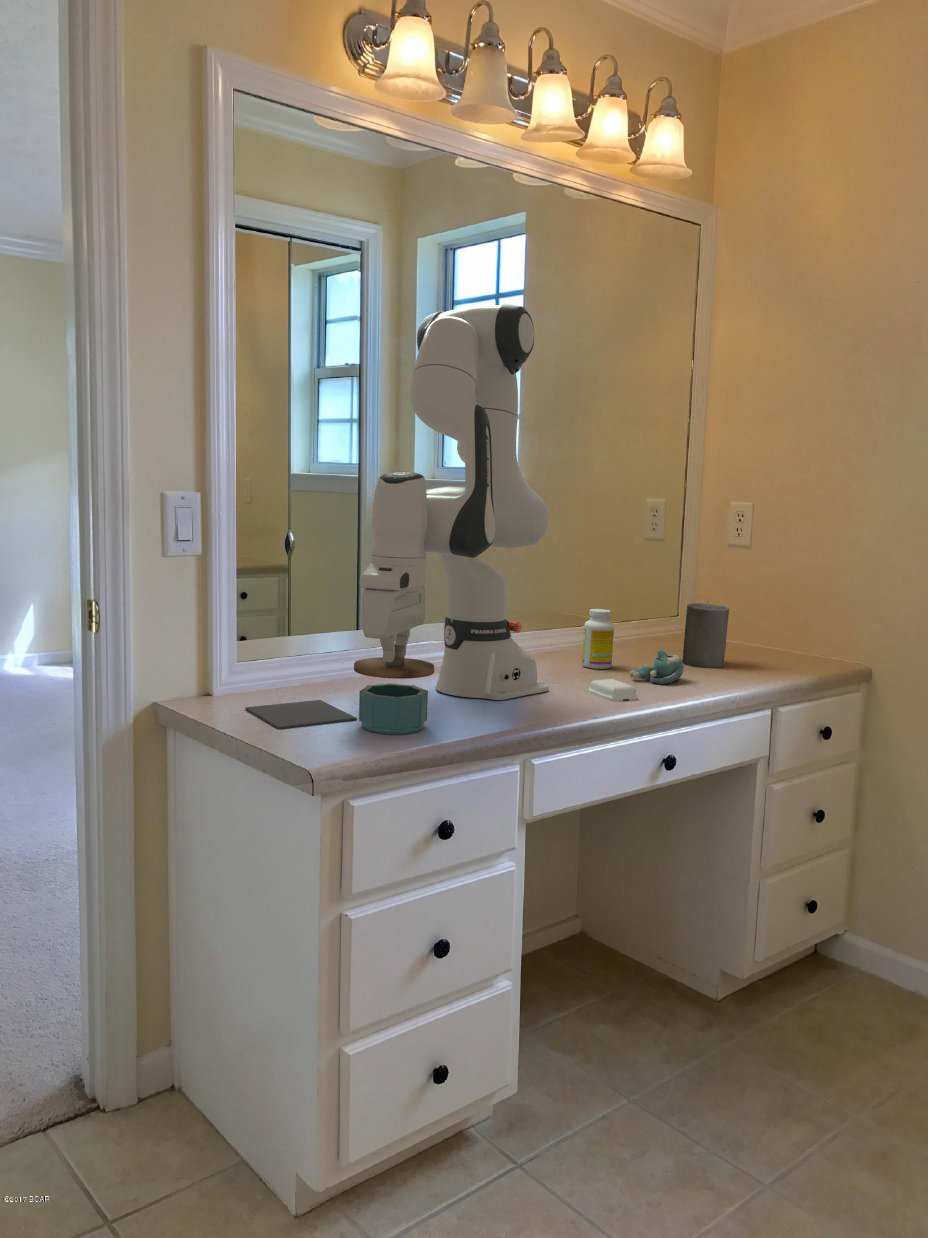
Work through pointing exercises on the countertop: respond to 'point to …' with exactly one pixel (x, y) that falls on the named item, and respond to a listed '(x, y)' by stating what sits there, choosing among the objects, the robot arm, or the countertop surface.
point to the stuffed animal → (661, 669)
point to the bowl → (393, 708)
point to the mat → (300, 714)
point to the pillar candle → (705, 635)
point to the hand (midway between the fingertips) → (394, 658)
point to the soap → (612, 690)
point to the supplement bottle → (598, 640)
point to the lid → (394, 666)
